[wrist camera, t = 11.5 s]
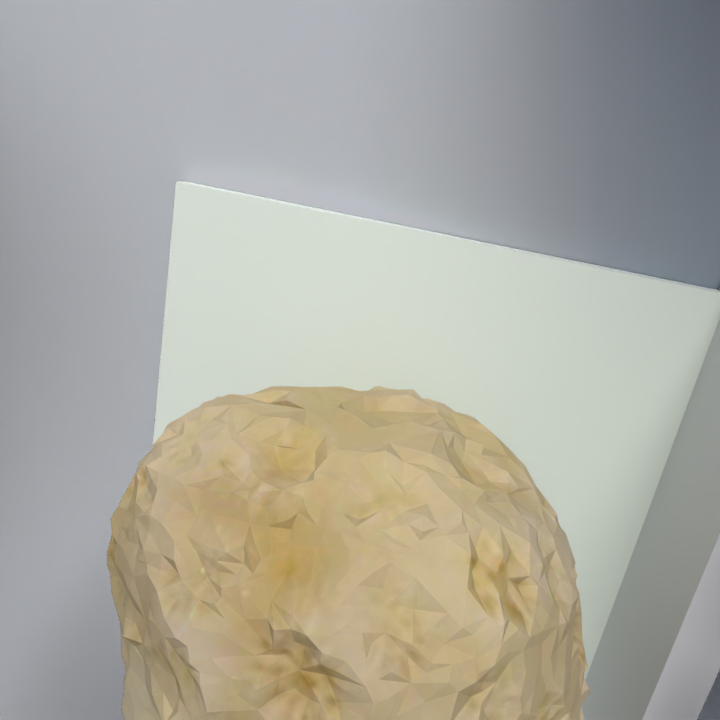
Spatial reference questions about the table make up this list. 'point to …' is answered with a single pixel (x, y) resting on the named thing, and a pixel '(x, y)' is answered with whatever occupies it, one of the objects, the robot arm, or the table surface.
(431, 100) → the table surface
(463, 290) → the mat
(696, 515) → the case
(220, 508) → the coral
